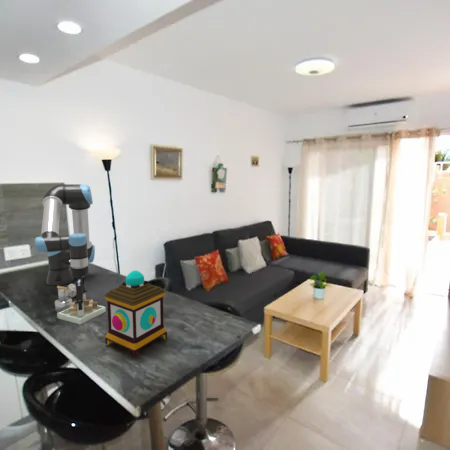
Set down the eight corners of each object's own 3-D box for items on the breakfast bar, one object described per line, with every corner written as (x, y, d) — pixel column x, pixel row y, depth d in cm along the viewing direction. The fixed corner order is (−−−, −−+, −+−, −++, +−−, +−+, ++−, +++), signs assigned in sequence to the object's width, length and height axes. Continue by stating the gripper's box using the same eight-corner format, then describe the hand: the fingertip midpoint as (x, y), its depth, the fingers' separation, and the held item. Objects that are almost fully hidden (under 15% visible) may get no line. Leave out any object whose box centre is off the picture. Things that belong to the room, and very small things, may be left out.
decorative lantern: (134, 362, 106) (131, 282, 102) (99, 346, 116) (96, 272, 112) (172, 338, 123) (171, 268, 118) (139, 325, 133) (137, 260, 129)
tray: (84, 306, 152) (83, 301, 152) (106, 311, 147) (105, 306, 146) (57, 318, 139) (57, 313, 139) (80, 324, 133) (80, 319, 133)
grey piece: (65, 304, 154) (64, 283, 152) (75, 307, 151) (74, 285, 149) (51, 310, 147) (50, 288, 146) (62, 313, 144) (60, 290, 143)
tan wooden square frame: (72, 307, 145) (71, 301, 145) (97, 304, 149) (97, 298, 149) (69, 315, 136) (69, 309, 136) (96, 312, 140) (96, 306, 140)
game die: (76, 303, 165) (87, 289, 165) (63, 303, 158) (74, 288, 157) (69, 292, 169) (79, 278, 169) (56, 291, 162) (66, 277, 161)
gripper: (73, 260, 149) (75, 302, 152) (67, 274, 127) (70, 322, 130) (89, 259, 151) (91, 300, 154) (86, 272, 130) (89, 320, 133)
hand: (82, 310), depth 142 cm, fingers open, 11 cm apart
